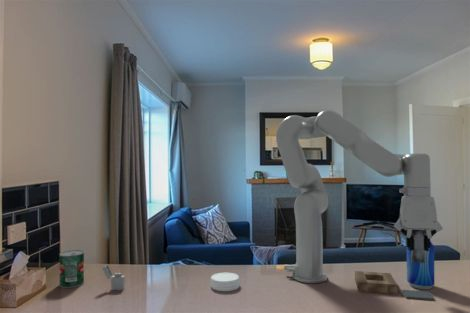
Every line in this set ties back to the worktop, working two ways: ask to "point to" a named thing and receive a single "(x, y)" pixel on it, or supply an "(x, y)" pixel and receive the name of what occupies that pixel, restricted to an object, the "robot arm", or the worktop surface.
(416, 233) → the rod
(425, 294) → the mat
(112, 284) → the lighter
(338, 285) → the worktop surface
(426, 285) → the beer can
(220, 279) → the white cheese wheel
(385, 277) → the pocket block
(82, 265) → the canned tomato
